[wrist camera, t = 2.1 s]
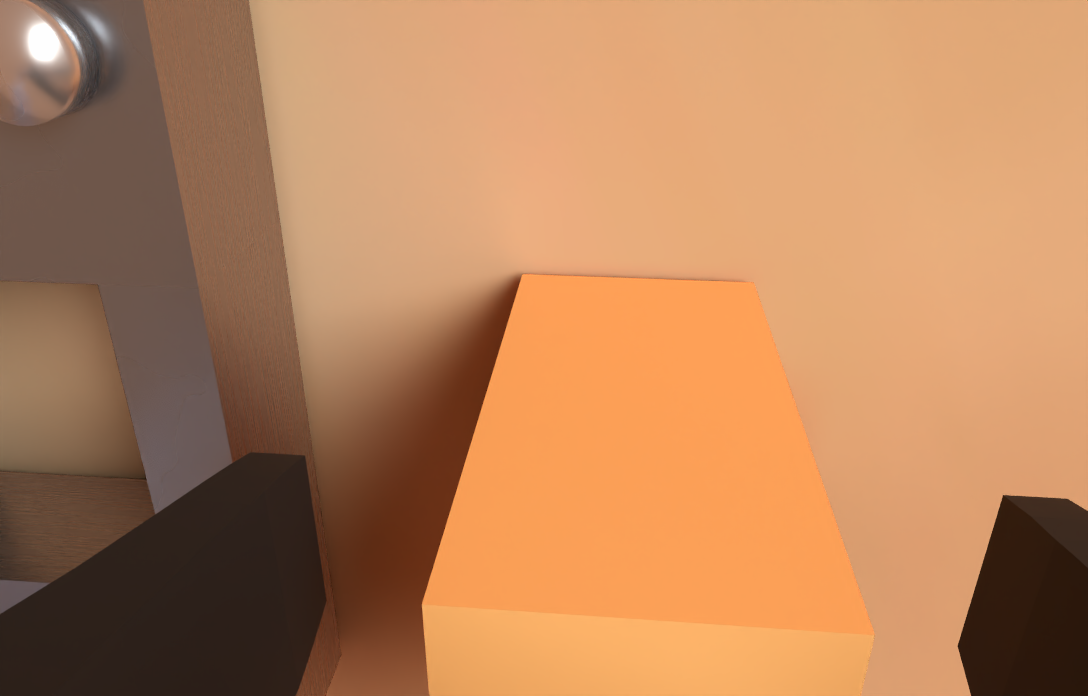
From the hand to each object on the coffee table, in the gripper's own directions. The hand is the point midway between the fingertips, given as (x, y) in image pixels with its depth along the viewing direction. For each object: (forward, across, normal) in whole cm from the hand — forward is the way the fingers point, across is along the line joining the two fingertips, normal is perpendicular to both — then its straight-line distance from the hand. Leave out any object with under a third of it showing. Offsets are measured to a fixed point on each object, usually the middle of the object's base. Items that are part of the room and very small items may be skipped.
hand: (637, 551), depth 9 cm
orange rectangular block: (+4, 0, 0) cm, 4 cm away
